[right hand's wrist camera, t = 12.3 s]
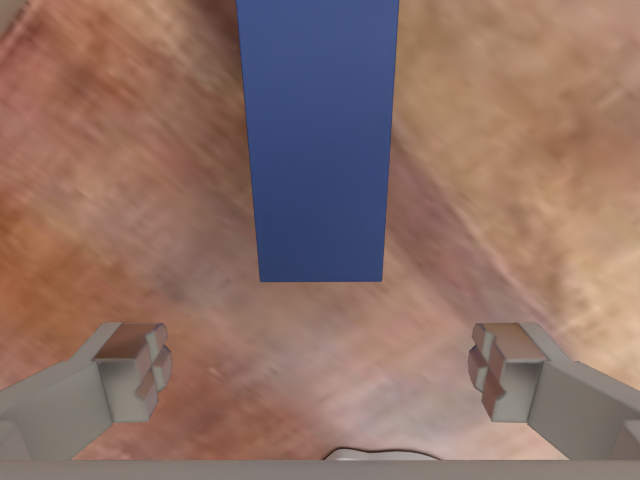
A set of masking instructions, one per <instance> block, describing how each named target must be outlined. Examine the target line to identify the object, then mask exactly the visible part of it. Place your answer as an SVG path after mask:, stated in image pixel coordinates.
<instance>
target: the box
mask: <svg viewBox="0 0 640 480" xmlns="http://www.w3.org/2000/svg"><path fill="white" fill-rule="evenodd" d="M236 7H237V19H238V30H239V42H240V54H241V65H242V77H243V88H244V100H245V112H246V123H247V135H248V147H249V158H250V170H251V182H252V193H253V205H254V217H255V228H256V240H257V251H258V263H259V275H260V282H381V281H382V272H383V256H384V239H385V223H386V207H387V190H388V174H389V158H390V141H391V125H392V108H393V92H394V76H395V59H396V43H397V26H398V10H399V0H236Z"/></svg>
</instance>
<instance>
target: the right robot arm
mask: <svg viewBox="0 0 640 480" xmlns="http://www.w3.org/2000/svg"><path fill="white" fill-rule="evenodd" d="M167 338H168V333H167V328H166V326H165V325H164V324H163V323H139V322H125V323H124V322H106V323H102V324H101V325H100V326H99V327H98V328H97V330H96V331H95V332H94V333H93V334H92V335H91V336H90V337H89V338H88V339H87V340H86V342H85V343H84V344H83V345H82V346H81V347H80V348H79V349H78V350H77V351H76V353H75V354H74V355H73V356H72V357H71V358H70V359H69V360H68V361H61V362H59V363H57V364H55V365H52V366H50V367H48V368H46V369H44V370H42V371H40V372H38V373H36V374H34V375H32V376H30V377H28V378H26V379H24V380H22V381H20V382H18V383H16V384H13V385H11V386H9V387H7V388H5V389H3V390H1V391H0V480H640V391H639V390H637V389H635V388H633V387H630V386H628V385H626V384H624V383H622V382H620V381H618V380H616V379H614V378H612V377H610V376H608V375H606V374H604V373H602V372H600V371H598V370H596V369H594V368H592V367H590V366H588V365H585V364H583V363H581V362H579V361H572V360H571V359H570V358H569V357H568V356H567V355H566V354H565V353H564V351H563V350H562V349H561V348H560V347H559V346H558V345H557V344H556V343H555V342H554V340H553V339H552V338H551V337H550V336H549V335H548V334H547V333H546V332H545V331H544V329H543V328H542V327H541V326H540V325H539V324H537V323H535V322H515V323H479V324H475V326H474V328H473V333H472V338H473V340H474V342H475V343H476V345H475V346H474V347H473V348H472V349H471V350H470V351H469V356H468V370H469V375H470V379H471V381H472V383H473V385H474V388H476V389H477V390H479V391H480V392H482V393H483V394H482V399H481V401H482V403H483V405H484V407H485V409H486V411H487V413H488V415H489V417H490V419H491V421H492V422H515V423H528V424H527V425H529V426H530V427H531V428H532V429H533V430H535V431H536V432H537V433H538V434H540V435H541V436H542V437H543V438H544V439H546V440H547V441H548V442H549V443H550V444H552V445H553V446H554V447H555V448H556V449H558V450H559V451H560V452H561V453H562V454H564V455H565V456H566V457H567V458H568V459H570V460H437V459H435V458H433V457H430V456H427V455H423V454H418V453H413V452H401V451H394V452H380V453H366V452H362V451H357V450H351V449H339V450H336V451H334V452H333V453H332V454H330V455H329V456H328V457H327V458H326V459H325V460H70V459H72V458H73V457H74V456H75V455H76V454H78V453H79V452H80V451H81V450H83V449H84V448H85V447H86V446H87V445H89V444H90V443H91V442H92V441H93V440H95V439H96V438H97V437H98V436H99V435H101V434H102V433H103V432H104V431H105V430H107V429H108V428H109V427H110V426H112V423H124V422H148V421H149V419H150V417H151V415H152V413H153V411H154V409H155V407H156V405H157V403H158V401H159V399H158V394H157V393H158V392H160V391H161V390H163V389H164V388H166V385H167V383H168V381H169V379H170V375H171V370H172V356H171V351H170V350H169V349H168V348H167V347H166V346H165V345H164V343H165V342H166V340H167Z"/></svg>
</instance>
